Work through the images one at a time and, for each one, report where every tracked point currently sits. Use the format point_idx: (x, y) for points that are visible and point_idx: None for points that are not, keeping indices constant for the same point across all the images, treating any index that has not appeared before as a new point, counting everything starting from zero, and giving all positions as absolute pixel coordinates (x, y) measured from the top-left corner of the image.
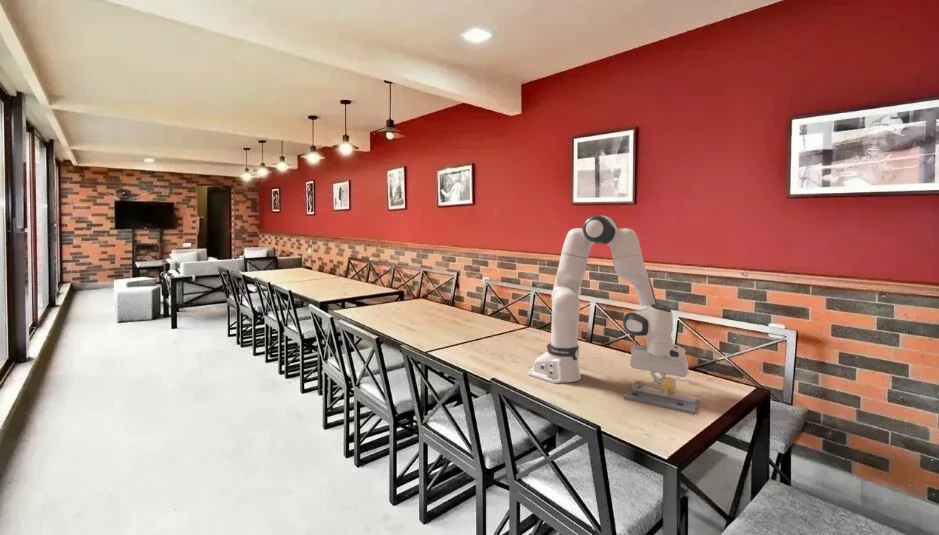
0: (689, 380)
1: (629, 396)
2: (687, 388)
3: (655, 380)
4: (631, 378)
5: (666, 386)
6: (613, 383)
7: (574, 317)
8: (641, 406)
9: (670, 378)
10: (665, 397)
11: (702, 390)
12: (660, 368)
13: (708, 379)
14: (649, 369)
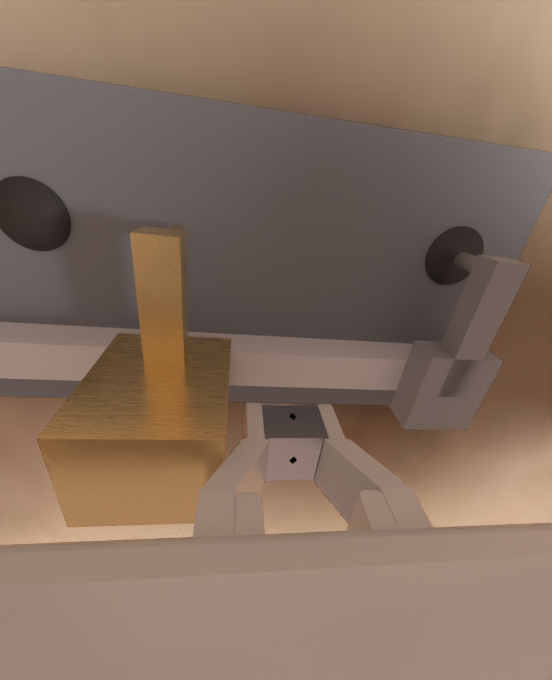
0: None
1: (511, 174)
2: (135, 528)
3: (318, 423)
4: (429, 509)
5: (180, 373)
6: (546, 412)
7: None
8: (394, 7)
9: (132, 500)
10: (175, 229)
11: (56, 539)
12: (283, 674)
13: None
14: (495, 557)
